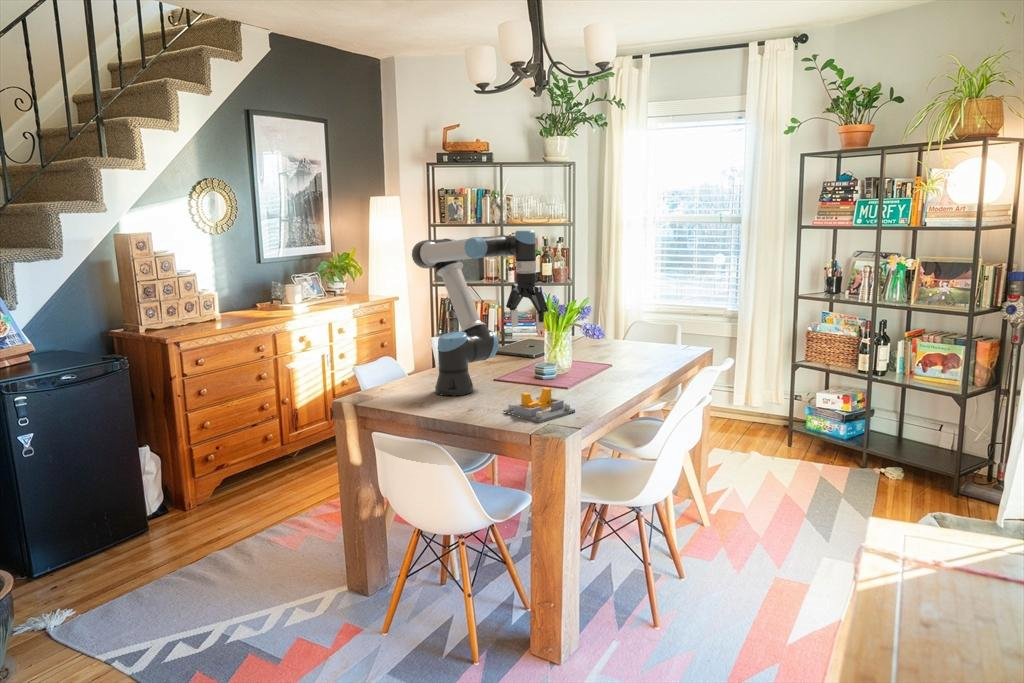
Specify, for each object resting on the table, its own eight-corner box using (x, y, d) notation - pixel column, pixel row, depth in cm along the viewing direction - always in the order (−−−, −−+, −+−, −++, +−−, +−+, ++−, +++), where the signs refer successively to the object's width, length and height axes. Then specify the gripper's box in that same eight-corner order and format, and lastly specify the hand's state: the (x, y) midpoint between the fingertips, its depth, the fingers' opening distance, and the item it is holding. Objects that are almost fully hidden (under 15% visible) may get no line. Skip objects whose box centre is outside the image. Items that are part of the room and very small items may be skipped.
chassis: (503, 412, 258) (503, 403, 257) (539, 403, 270) (539, 393, 269) (539, 423, 245) (538, 413, 244) (575, 412, 257) (575, 402, 256)
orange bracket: (529, 413, 252) (529, 395, 251) (521, 411, 255) (521, 393, 254) (554, 407, 260) (554, 389, 259) (546, 404, 263) (546, 387, 262)
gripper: (496, 271, 276) (497, 326, 280) (542, 274, 258) (543, 333, 262) (510, 269, 281) (512, 324, 285) (557, 273, 263) (557, 331, 267)
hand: (527, 328), depth 273 cm, fingers open, 13 cm apart
